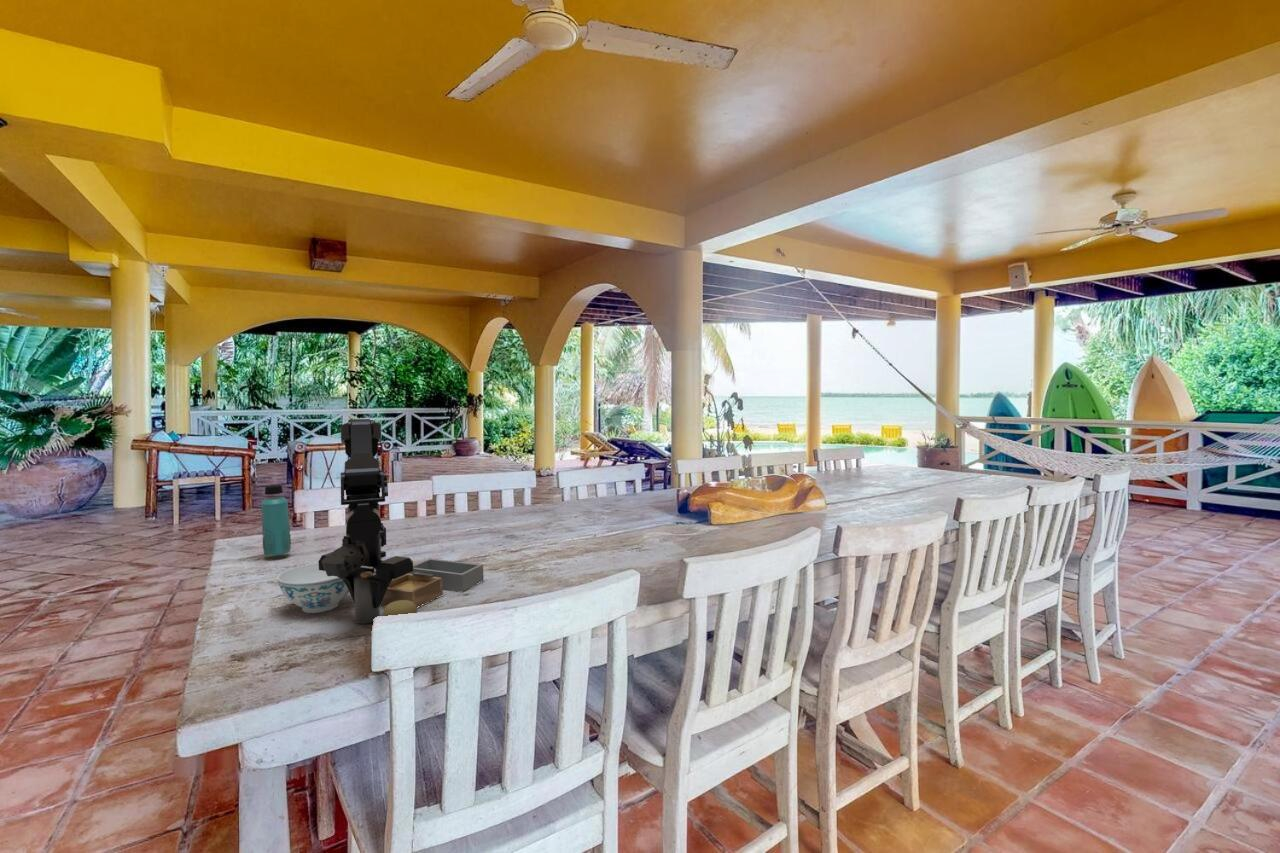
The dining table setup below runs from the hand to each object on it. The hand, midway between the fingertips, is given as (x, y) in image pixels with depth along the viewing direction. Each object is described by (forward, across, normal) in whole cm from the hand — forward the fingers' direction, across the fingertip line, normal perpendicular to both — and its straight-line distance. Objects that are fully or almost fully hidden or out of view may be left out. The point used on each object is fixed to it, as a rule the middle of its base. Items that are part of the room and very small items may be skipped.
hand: (367, 606), depth 115 cm
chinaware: (+3, -15, +3) cm, 16 cm away
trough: (+3, 0, +24) cm, 24 cm away
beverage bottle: (+3, -57, +26) cm, 63 cm away
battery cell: (+3, 0, 0) cm, 3 cm away
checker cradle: (+3, 0, +12) cm, 12 cm away
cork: (+3, +20, -13) cm, 24 cm away
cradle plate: (+1, 0, +12) cm, 12 cm away
